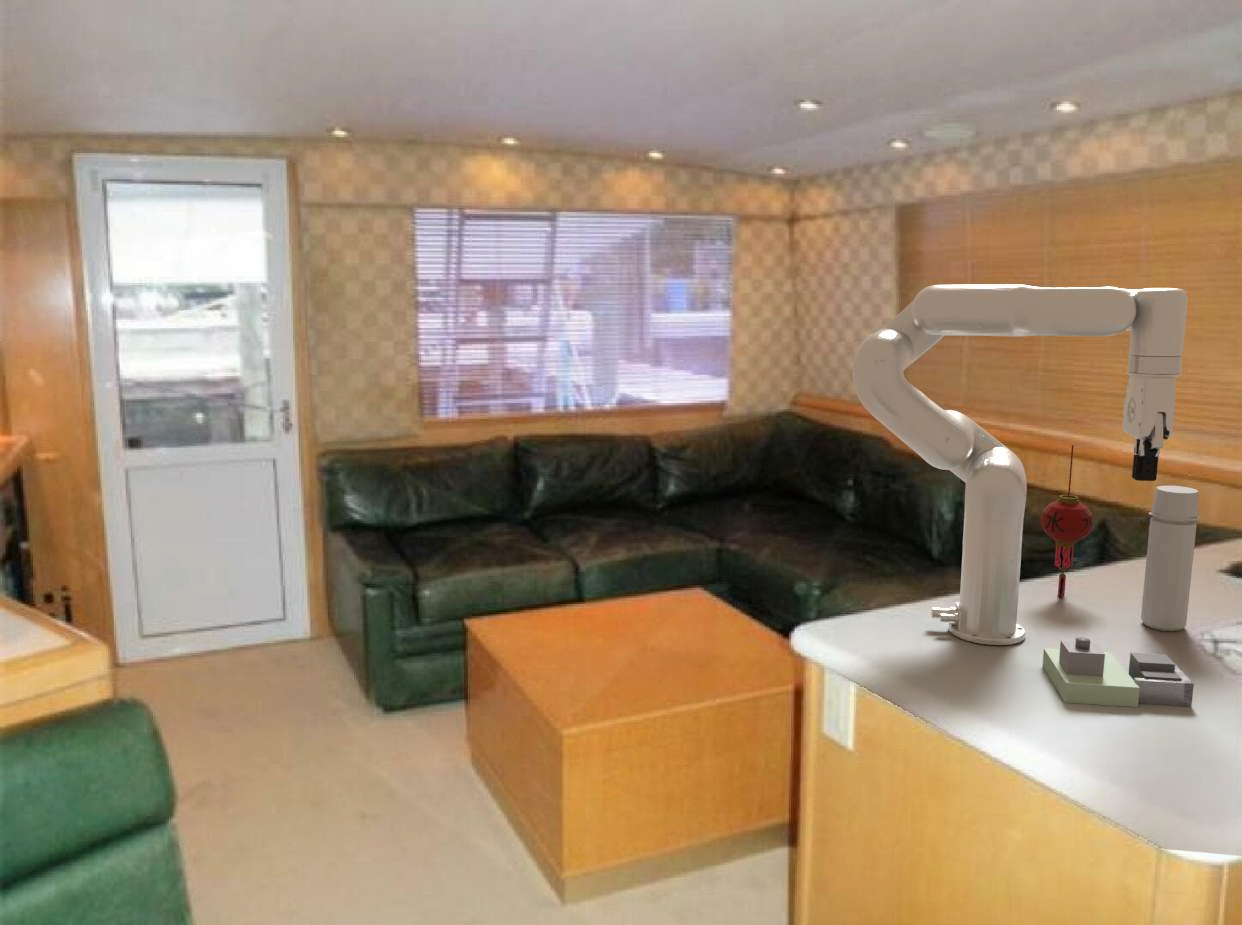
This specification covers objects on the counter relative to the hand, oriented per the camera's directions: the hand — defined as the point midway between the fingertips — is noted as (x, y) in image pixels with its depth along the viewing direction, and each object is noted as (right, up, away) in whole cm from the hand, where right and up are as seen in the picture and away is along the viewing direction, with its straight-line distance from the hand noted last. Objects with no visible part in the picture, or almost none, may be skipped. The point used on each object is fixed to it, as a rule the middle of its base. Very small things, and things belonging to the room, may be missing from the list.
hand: (1143, 479), depth 160 cm
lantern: (+1, -24, +33) cm, 41 cm away
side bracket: (-6, -32, -12) cm, 34 cm away
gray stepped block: (-5, -32, -12) cm, 34 cm away
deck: (-13, -31, -9) cm, 35 cm away
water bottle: (+13, -27, +17) cm, 34 cm away
